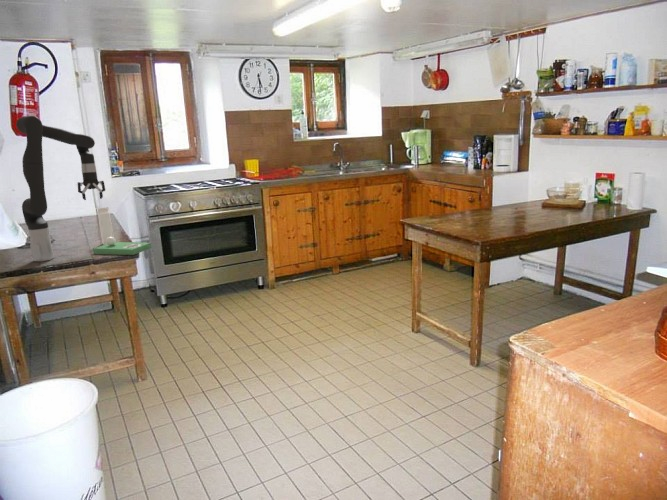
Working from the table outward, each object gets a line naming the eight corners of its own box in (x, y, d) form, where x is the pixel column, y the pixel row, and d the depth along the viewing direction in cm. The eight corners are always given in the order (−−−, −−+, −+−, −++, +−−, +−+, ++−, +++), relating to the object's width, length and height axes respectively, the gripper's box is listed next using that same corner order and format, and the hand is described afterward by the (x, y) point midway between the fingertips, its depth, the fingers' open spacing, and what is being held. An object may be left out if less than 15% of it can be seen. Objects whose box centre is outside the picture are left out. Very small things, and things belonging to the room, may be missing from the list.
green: (133, 254, 267) (132, 249, 267) (93, 253, 275) (92, 248, 274) (151, 247, 282) (150, 242, 282) (113, 247, 289) (112, 242, 289)
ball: (112, 246, 277) (111, 237, 275) (105, 246, 278) (103, 237, 277) (118, 244, 281) (117, 235, 280) (111, 244, 283) (109, 235, 281)
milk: (102, 243, 300) (96, 208, 295) (113, 242, 304) (107, 206, 299) (104, 245, 296) (98, 208, 290) (115, 243, 299) (109, 207, 294)
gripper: (76, 172, 279) (80, 201, 282) (103, 170, 286) (107, 198, 290) (74, 172, 285) (78, 200, 288) (101, 170, 292) (105, 197, 296)
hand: (93, 199), depth 289 cm, fingers open, 8 cm apart
